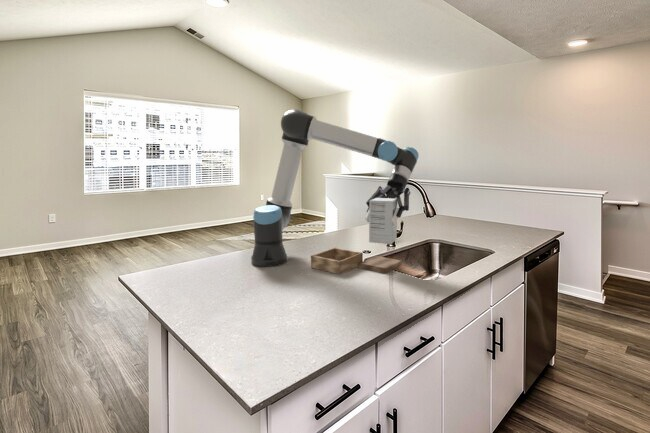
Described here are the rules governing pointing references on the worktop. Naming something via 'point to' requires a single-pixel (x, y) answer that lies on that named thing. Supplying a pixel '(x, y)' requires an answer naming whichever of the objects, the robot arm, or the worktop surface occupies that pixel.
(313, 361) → the worktop surface
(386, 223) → the supplement box
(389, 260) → the walnut board
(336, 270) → the wooden tray
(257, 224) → the robot arm
